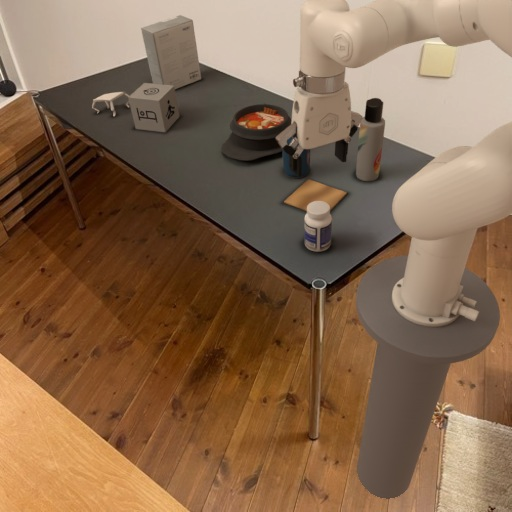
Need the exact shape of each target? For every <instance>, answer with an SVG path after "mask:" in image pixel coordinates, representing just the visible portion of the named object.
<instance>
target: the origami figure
mask: <svg viewBox="0 0 512 512" xmlns="http://www.w3.org/2000/svg"><path fill="white" fill-rule="evenodd" d="M122 96H126V97H127V98H128V97H129V96H130V95H129V94H128V93H126V91H116V92H110V93H103V94H101V95H99V96H98V97H96V98H94V99H92V105H91V109H93V110H95V111H97V113H96V114H99V113H100V110H99V109H97V108H95V106H96V103H97V102H99V103H100V102H105V104H106V107H107V109H108V110H109V109H110V111H111V112H112V113H113V115H112V116H113V117H115V116H116V110H115V106H114V102H113V101H115V100H117V99H118V98H120V97H122ZM109 104H110V105H109ZM125 106H126V107H127V108H128V109H129V108H130V104H129V100H128V101H127V102H126V103H125Z"/></svg>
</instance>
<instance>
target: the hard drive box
mask: <svg viewBox="0 0 512 512" xmlns="http://www.w3.org/2000/svg"><path fill="white" fill-rule="evenodd" d="M140 30H141V35H142V41H143V45H144V49H145V53H146V54H145V55H146V58H147V63H148V66H149V72H150V75H151V81H152V84H162V85H173V86H174V88H175V90H178V89H180V88H182V87H184V86H187V85H190V84H193V83H196V82H197V81H201V80H202V75H201V68H200V67H201V66H200V61H199V54H198V47H197V39H196V34H195V27H194V21H193V19H191V18H189V17H187V16H183V15H181V14H179V15H176V16H173V17H169V18H167V19H164V20H161V21H158V22H155V23H152V24H149V25H146V26H143V27H141V28H140Z"/></svg>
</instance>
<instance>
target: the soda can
mask: <svg viewBox="0 0 512 512" xmlns="http://www.w3.org/2000/svg"><path fill="white" fill-rule="evenodd" d="M288 127H289V126H288ZM292 140H293V138H292V137H290V138H289V139H288V140H287V144H288V145H289V144H290V143H291V141H292ZM298 145H299V143H298V144H297V146H298ZM297 146H296V147H295V149H296V148H297ZM281 153H282V170H283V172H284V174H285V175H286V176H287V177H288V178H291V179H302V178H304V177H306V176H307V175H308V173H309V172H310V171H311V149H304V150H303V151H302V153H301V154H300V157H301V158H302V175H301V176H297V175H296V174H295V173H294V172H293V171H291V170H290V168H289V154H287V153H286V152H285V151H284V150H283V149H282V151H281Z"/></svg>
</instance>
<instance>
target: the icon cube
mask: <svg viewBox="0 0 512 512" xmlns="http://www.w3.org/2000/svg"><path fill="white" fill-rule="evenodd" d="M127 100H128V101H129V103H128V105H129V108H130V111H131V115H132V120H133V123H134V128H135V130H141V131H150V132H158V133H159V132H160V133H166V132H167V131H168V130H169V129H170V128H171V127H172V125H174V123H175V122H176V121H177V120H178V119H179V118H180V111H179V105H178V99H177V93H176V89H175V88H174V86H173V85H162V84H153V83H149V82H143V84H141V85H140V86H139V87H138V88H137V89H135V90H134V92H132V93H131V94H130V95H129V97H127Z"/></svg>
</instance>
